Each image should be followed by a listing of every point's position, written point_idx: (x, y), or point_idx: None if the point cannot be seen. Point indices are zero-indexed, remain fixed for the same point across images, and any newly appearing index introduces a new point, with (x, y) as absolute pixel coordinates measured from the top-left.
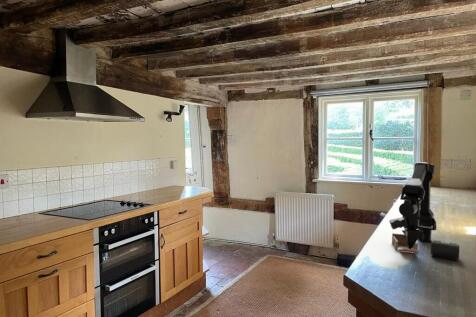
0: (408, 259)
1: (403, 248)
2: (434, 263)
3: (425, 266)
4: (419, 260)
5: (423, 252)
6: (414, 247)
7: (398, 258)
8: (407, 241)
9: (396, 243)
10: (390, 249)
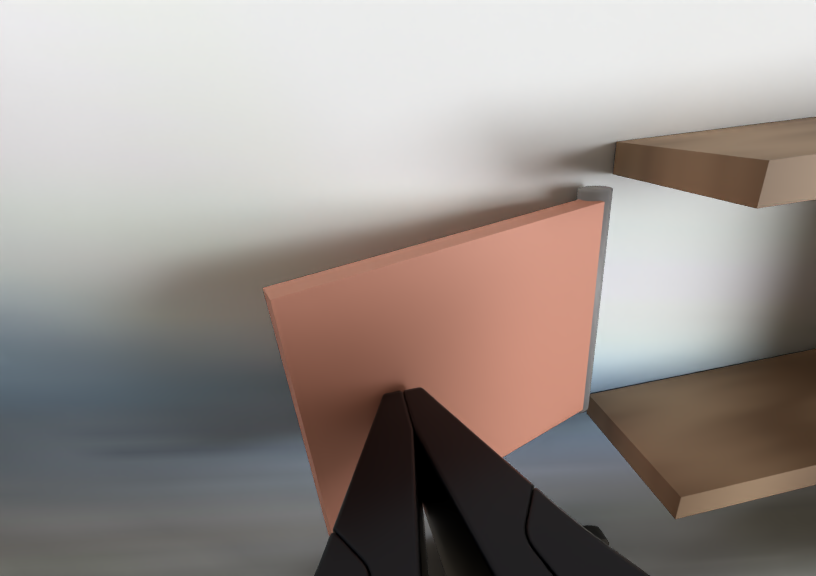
0: (195, 320)
1: (275, 312)
2: (240, 563)
3: (12, 507)
4: (252, 442)
5: (616, 463)
6: (680, 416)
7: (128, 164)
8: (401, 514)
9: (722, 163)
10: (647, 43)
